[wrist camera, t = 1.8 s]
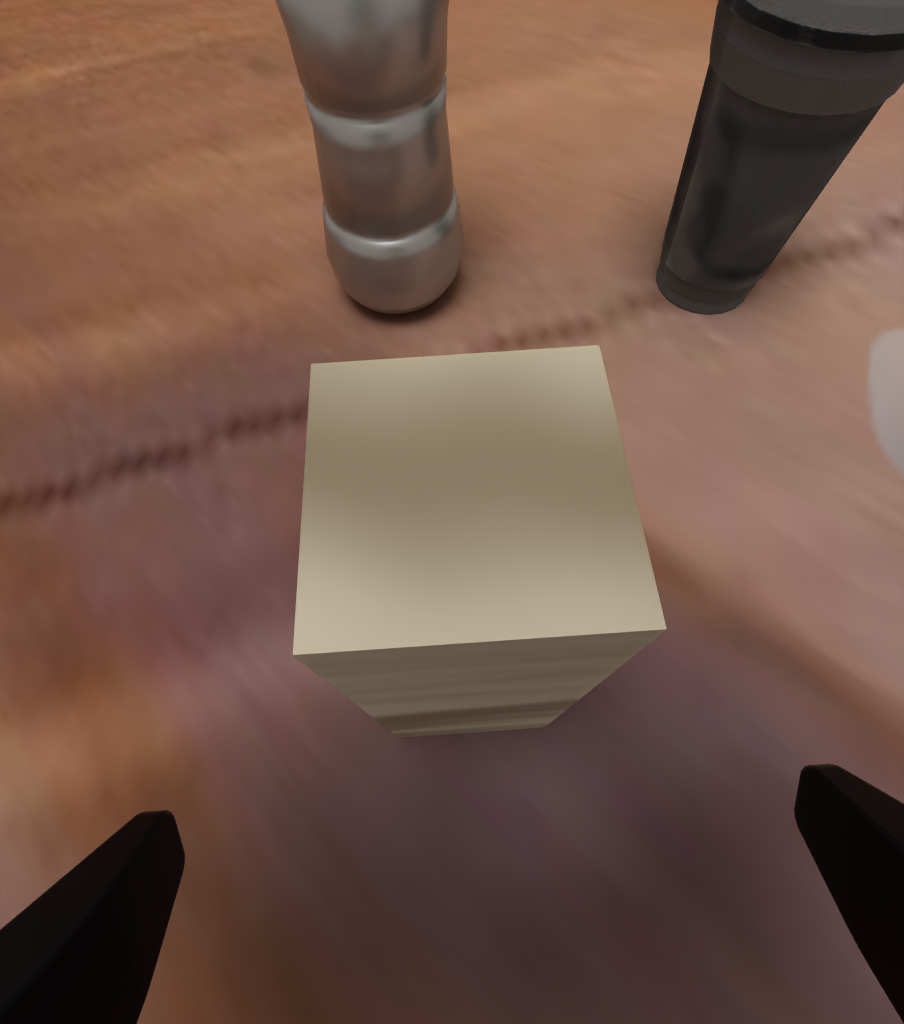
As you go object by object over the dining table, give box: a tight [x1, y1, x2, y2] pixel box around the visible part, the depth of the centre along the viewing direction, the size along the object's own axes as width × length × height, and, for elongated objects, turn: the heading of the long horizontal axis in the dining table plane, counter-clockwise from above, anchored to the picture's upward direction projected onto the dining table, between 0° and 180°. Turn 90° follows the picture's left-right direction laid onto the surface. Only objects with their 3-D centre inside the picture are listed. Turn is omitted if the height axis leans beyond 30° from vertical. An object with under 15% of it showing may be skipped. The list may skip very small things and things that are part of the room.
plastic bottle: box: [276, 0, 463, 314], centre depth 20 cm, size 6×7×20 cm
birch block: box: [293, 345, 666, 738], centre depth 14 cm, size 5×5×13 cm
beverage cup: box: [656, 0, 904, 314], centre depth 19 cm, size 7×7×20 cm
